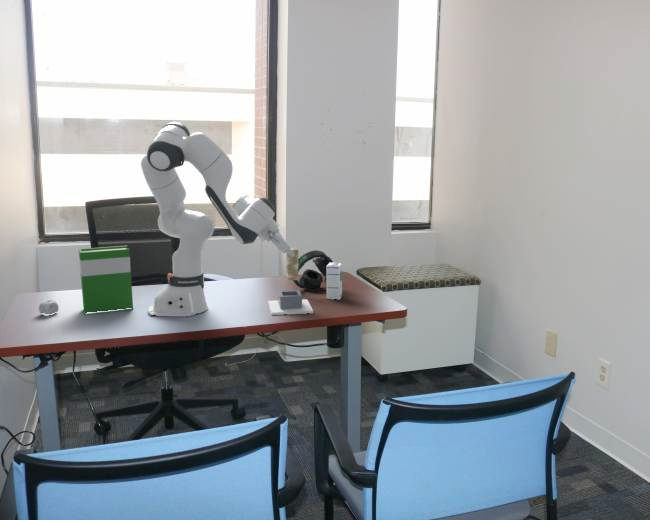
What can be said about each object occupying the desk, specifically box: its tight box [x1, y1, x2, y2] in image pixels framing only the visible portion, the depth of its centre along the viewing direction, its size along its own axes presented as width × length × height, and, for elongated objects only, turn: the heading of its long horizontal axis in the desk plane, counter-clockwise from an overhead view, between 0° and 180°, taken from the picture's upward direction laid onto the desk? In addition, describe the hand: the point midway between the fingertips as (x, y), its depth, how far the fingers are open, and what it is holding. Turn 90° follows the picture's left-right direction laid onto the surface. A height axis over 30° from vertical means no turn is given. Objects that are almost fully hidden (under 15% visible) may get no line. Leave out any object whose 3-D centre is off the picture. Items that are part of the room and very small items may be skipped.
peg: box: [285, 247, 299, 281], centre depth 244 cm, size 4×4×12 cm
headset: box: [292, 249, 334, 292], centre depth 273 cm, size 18×14×29 cm
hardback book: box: [78, 245, 134, 314], centre depth 240 cm, size 18×7×24 cm, turn 114°
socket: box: [267, 289, 314, 316], centre depth 245 cm, size 16×16×6 cm
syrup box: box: [325, 262, 343, 301], centre depth 259 cm, size 6×6×14 cm
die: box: [38, 299, 60, 314], centre depth 236 cm, size 5×5×5 cm
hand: (292, 254), depth 243 cm, fingers closed on peg, 4 cm apart
